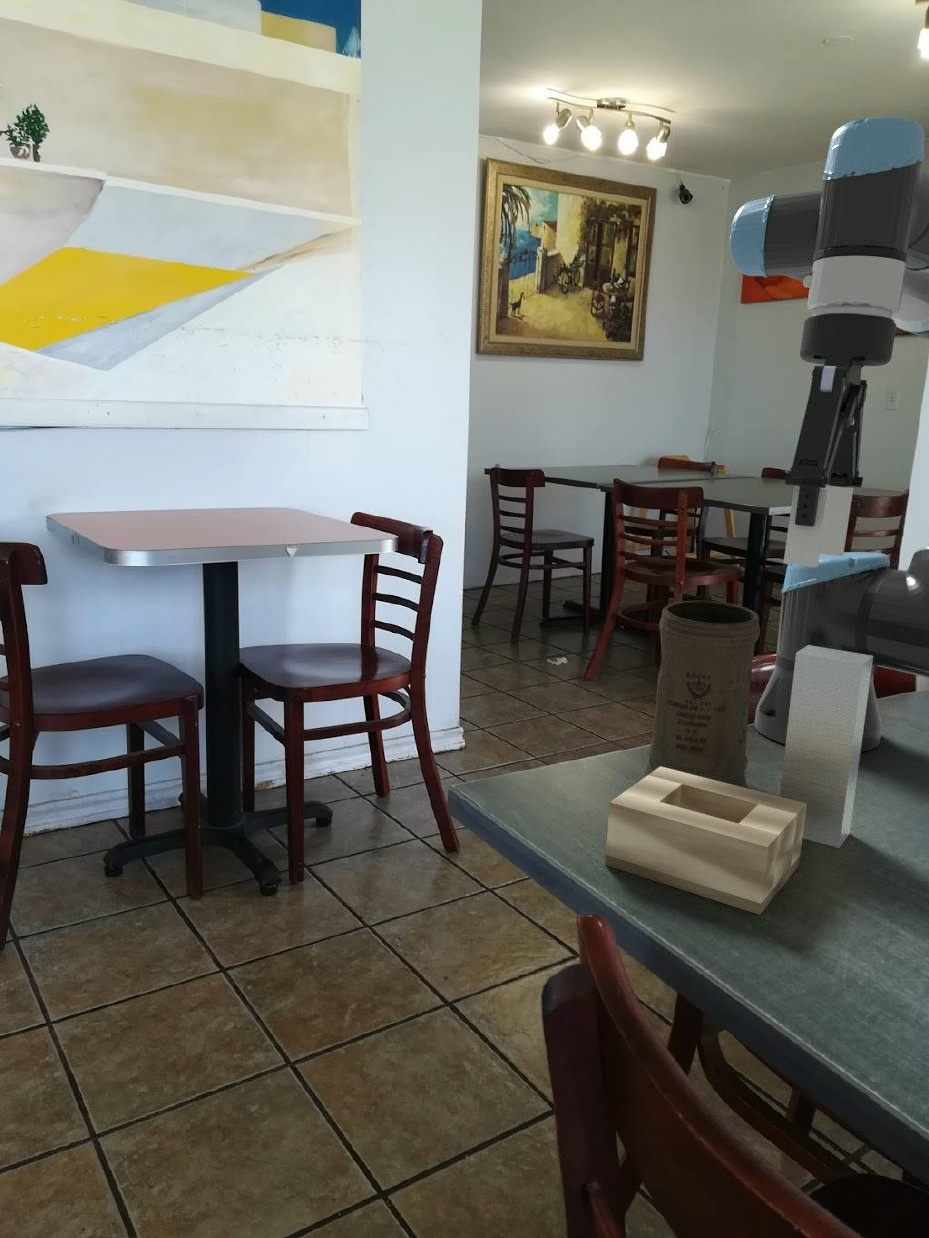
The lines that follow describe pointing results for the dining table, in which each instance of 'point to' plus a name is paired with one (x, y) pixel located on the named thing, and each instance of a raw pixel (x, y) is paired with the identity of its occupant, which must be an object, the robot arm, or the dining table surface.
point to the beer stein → (704, 690)
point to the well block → (706, 837)
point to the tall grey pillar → (826, 739)
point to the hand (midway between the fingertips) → (815, 559)
